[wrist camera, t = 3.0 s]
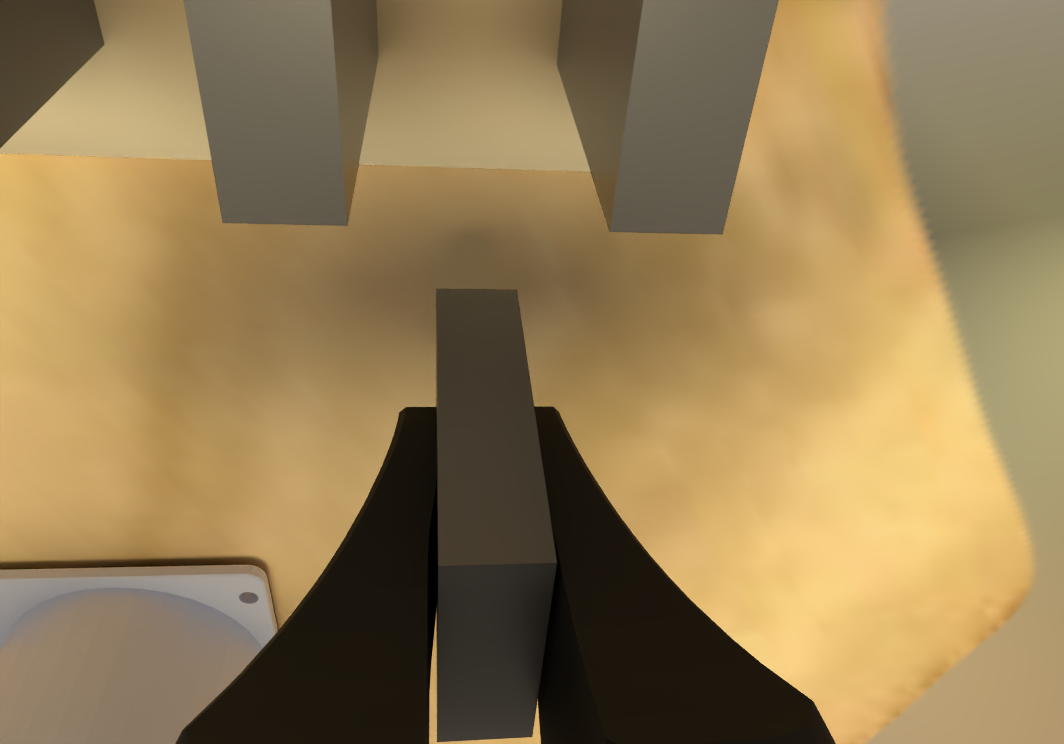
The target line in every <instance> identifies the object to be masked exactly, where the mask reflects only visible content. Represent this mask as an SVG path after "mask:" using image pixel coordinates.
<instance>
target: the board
mask: <svg viewBox="0 0 1064 744" xmlns="http://www.w3.org/2000/svg"><path fill="white" fill-rule="evenodd" d="M94 3H95V7H96V11H97V15H98V19H99V24H100V28H101V32H102V36H103V40H104V44H105V45H104V46H103V47H102V48H101V49H100V50H99V51H98V52H97V53H96V54H95V55H94V56H93V57H92V58H91V59H90V60H89V61H88V62H87V63H86V64H85V65H84V66H83V67H82V68H81V69H80V70H79V71H77V72H76V73H75V74H74V75H73V76H72V77H71V78H70V79H69V80H68V81H67V82H66V83H65V84H64V85H63V86H62V87H61V88H60V89H59V90H58V91H57V92H56V93H55V94H54V95H53V96H52V97H51V98H50V99H49V100H48V101H47V102H46V103H45V104H44V105H43V106H42V107H41V108H40V109H39V110H38V111H37V112H36V113H35V114H34V115H33V116H32V117H31V118H30V119H29V120H28V121H27V122H26V123H25V124H24V125H23V126H22V127H21V128H20V129H19V130H18V131H17V132H16V133H15V134H14V135H13V136H12V137H11V138H10V139H9V140H8V141H7V142H6V143H5V144H4V145H3V146H2V147H1V148H0V154H27V155H59V156H91V157H124V158H156V159H188V160H212V159H211V154H210V148H209V143H208V137H207V131H206V126H205V120H204V114H203V109H202V103H201V97H200V92H199V86H198V81H197V75H196V69H195V64H194V58H193V52H192V47H191V41H190V35H189V30H188V24H187V19H186V13H185V7H184V2H183V0H94ZM376 7H377V31H378V55H379V57H378V63H377V68H376V74H375V79H374V84H373V90H372V95H371V101H370V106H369V111H368V117H367V122H366V128H365V133H364V139H363V144H362V149H361V155H360V160H359V165H383V166H415V167H447V168H480V169H512V170H544V171H577V172H591V171H590V168H589V165H588V162H587V159H586V156H585V153H584V149H583V146H582V143H581V140H580V137H579V134H578V130H577V127H576V124H575V121H574V118H573V115H572V112H571V108H570V105H569V102H568V99H567V96H566V93H565V90H564V86H563V83H562V80H561V77H560V74H559V71H558V67H557V56H558V45H559V33H560V22H561V11H562V0H376Z"/></svg>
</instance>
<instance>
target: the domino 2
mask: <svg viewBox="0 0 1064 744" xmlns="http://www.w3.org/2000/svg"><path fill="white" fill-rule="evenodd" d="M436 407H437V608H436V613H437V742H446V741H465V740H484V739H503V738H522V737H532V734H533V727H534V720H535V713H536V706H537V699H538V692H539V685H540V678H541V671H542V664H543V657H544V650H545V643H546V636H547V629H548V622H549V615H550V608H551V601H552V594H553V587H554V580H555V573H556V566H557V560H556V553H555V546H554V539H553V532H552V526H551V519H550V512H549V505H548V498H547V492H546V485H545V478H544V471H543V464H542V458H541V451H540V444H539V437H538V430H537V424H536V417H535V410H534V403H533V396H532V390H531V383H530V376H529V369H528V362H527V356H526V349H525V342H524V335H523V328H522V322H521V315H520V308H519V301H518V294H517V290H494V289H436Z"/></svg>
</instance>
